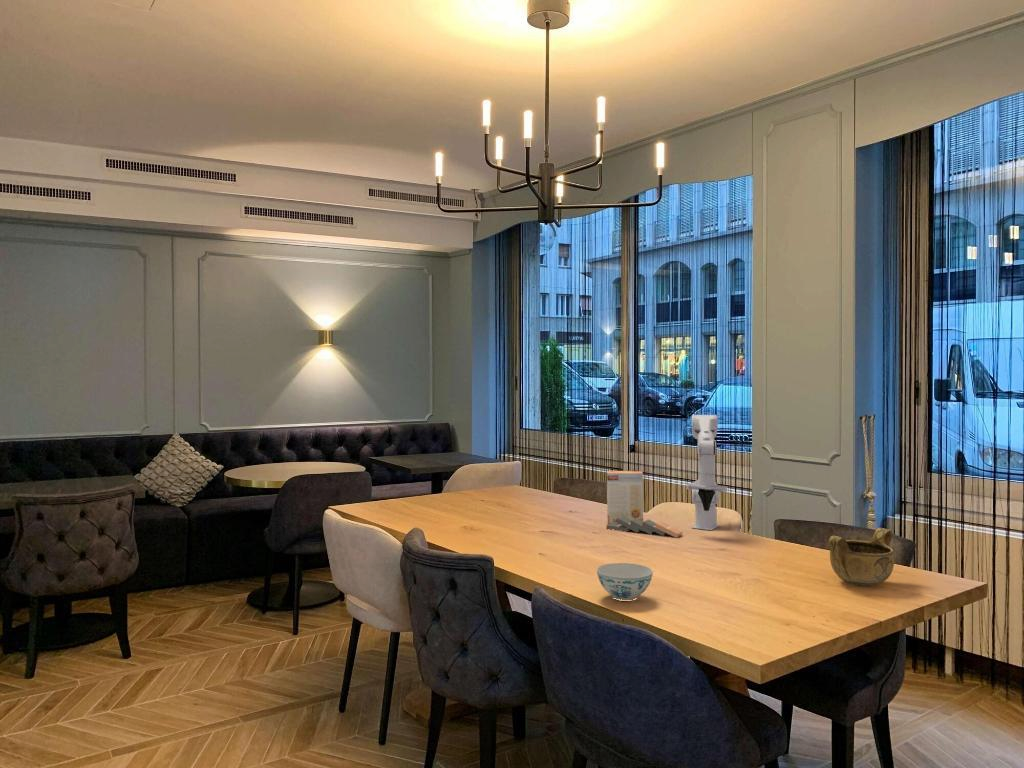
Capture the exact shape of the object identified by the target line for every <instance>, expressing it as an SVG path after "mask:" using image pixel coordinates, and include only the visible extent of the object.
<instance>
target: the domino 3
mask: <svg viewBox="0 0 1024 768" xmlns="http://www.w3.org/2000/svg"><path fill="white" fill-rule="evenodd" d="M656 523H657V522H655V521H652V520H650V519H646V520H643V524H642V526H644V527H646V528H648V529H650V530H652V531H654V532H656V533H655V534H658V535H660V536H662V537H665V536H667V535H668V534H667V533H665V532H663V531H661V530H659V529H657V528H655V525H656ZM666 534H667V535H666ZM664 535H665V536H664Z"/></svg>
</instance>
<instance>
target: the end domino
mask: <svg viewBox="0 0 1024 768" xmlns="http://www.w3.org/2000/svg"><path fill="white" fill-rule="evenodd" d="M608 529H614V530H613V531H616V530H622V531H621V532H624V531H629V532H631V531H630V530H631V529H629V528H627V527H625V526H623V525H621V524H616V523H611V524H608V523H607V524H606V530H608Z"/></svg>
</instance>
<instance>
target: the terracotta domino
mask: <svg viewBox="0 0 1024 768" xmlns="http://www.w3.org/2000/svg"><path fill="white" fill-rule="evenodd" d="M655 523H656V525H655V528H657V529H659V530H661V531H663V532H665V533H667V535H669V536H672V537H674V538H676V539H678V538H680V537H681V535H682V536H683V533H684V531H683V530H681V529H679V528H676V527H674V526H672V525H670V524H668V523H666V522H663V521H659V522H655ZM679 536H680V537H679ZM677 537H678V538H677Z"/></svg>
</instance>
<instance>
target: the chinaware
mask: <svg viewBox="0 0 1024 768" xmlns="http://www.w3.org/2000/svg"><path fill="white" fill-rule="evenodd" d="M596 573H597V574H596V575H597V577H598V581H599V583H600V585H601V586H602V588H603V589H604V591H606V592H607V593H608V594H609V595H611V598H612V597H613V598H616V599H620V600H621V599H622V600H633V599H635V598H637V599H638V596H640V595H642V594H643V593H644V592H645V591H646V590H647V588H649V585H650V584H651V581H652V578H653V573H654V570H653V569H652V568H651V567H649V566H646V565H644V564H643V565H642V564H640V563H630V562H614V563H611V562H610V563H605V564H602V565H599V566H598V567H596ZM613 598H612V599H613Z"/></svg>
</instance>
